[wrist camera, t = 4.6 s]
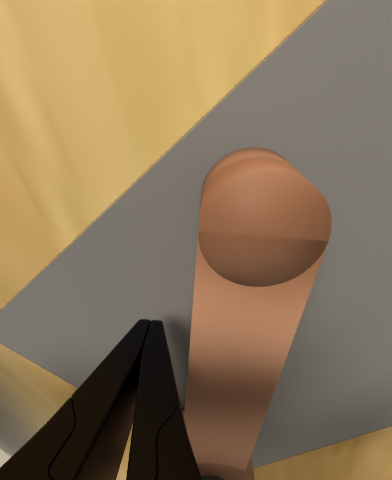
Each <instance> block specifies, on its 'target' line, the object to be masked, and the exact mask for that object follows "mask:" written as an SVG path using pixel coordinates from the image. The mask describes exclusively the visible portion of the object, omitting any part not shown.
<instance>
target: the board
mask: <svg viewBox="0 0 392 480" xmlns="http://www.w3.org/2000/svg"><path fill="white" fill-rule="evenodd" d="M249 147H259V148H265V149H268V150H272V151H274V152H276V153H278V154H279V155H281V156H282V157H284V158H285V159H286V160H287V161H288V162H289V163H290V164H291V165H292V166H293V167H294V168H296V169H297V170H298V171H299V172H300V173H301V174H302V175H303V176H304V177H305V178H306V179H307V180H309V181H310V182H311V183H312V184H313V185H314V186H315V187H316V188H317V189H318V190H319V191H320V192H321V194H322V195H323V196H324V198H325V199H326V201H327V203H328V206H329V209H330V212H331V218H332V228H331V235H330V238H329V241H328V244H327V247H326V250H325V252H324V255H323V258H322V261H321V264H320V266H319V269H318V272H317V275H316V277H315V280H314V283H313V286H312V288H311V291H310V294H309V297H308V299H307V302H306V305H305V308H304V310H303V313H302V316H301V319H300V322H299V324H298V327H297V330H296V333H295V335H294V338H293V341H292V344H291V346H290V349H289V352H288V355H287V357H286V360H285V363H284V366H283V368H282V371H281V374H280V377H279V380H278V382H277V385H276V388H275V391H274V393H273V396H272V399H271V402H270V404H269V407H268V410H267V413H266V415H265V418H264V421H263V424H262V426H261V429H260V432H259V435H258V438H257V440H256V443H255V446H254V449H253V451H252V454H251V455H252V464H253V468H256V467H259V466H262V465H266V464H269V463H272V462H276V461H279V460H282V459H285V458H289V457H292V456H295V455H298V454H302V453H305V452H308V451H311V450H315V449H318V448H321V447H324V446H328V445H331V444H334V443H338V442H341V441H344V440H347V439H351V438H354V437H357V436H360V435H364V434H367V433H370V432H373V431H377V430H380V429H383V428H387V427H390V426H392V0H326V1H325V2H323V3H322V4H321V5H320V6H319V7H318V8H317V9H316V10H315V11H314V12H313V13H312V14H311V15H310V16H309V17H308V18H307V19H306V20H305V21H304V22H302V23H301V24H300V25H299V26H298V27H297V28H296V29H295V30H294V31H293V32H292V33H291V34H290V35H289V36H288V37H287V38H286V39H285V40H284V41H283V42H281V43H280V44H279V45H278V46H277V47H276V48H275V49H274V50H273V51H272V52H271V53H270V54H269V55H268V56H267V57H266V58H265V59H264V60H263V61H262V62H260V63H259V64H258V65H257V66H256V67H255V68H254V69H253V70H252V71H251V72H250V73H249V74H248V75H247V76H246V77H245V78H244V79H243V80H242V81H241V82H239V83H238V84H237V85H236V86H235V87H234V88H233V89H232V90H231V91H230V92H229V93H228V94H227V95H226V96H225V97H224V98H223V99H222V100H221V101H220V102H218V103H217V104H216V105H215V106H214V107H213V108H212V109H211V110H210V111H209V112H208V113H207V114H206V115H205V116H204V117H203V118H202V119H201V120H200V121H199V122H197V123H196V124H195V125H194V126H193V127H192V128H191V129H190V130H189V131H188V132H187V133H186V134H185V135H184V136H183V137H182V138H181V139H180V140H179V141H178V142H176V143H175V144H174V145H173V146H172V147H171V148H170V149H169V150H168V151H167V152H166V153H165V154H164V155H163V156H162V157H161V158H160V159H159V160H158V161H157V162H155V163H154V164H153V165H152V166H151V167H150V168H149V169H148V170H147V171H146V172H145V173H144V174H143V175H142V176H141V177H140V178H139V179H138V180H137V181H136V182H134V183H133V184H132V185H131V186H130V187H129V188H128V189H127V190H126V191H125V192H124V193H123V194H122V195H121V196H120V197H119V198H118V199H117V200H116V201H115V202H113V203H112V204H111V205H110V206H109V207H108V208H107V209H106V210H105V211H104V212H103V213H102V214H101V215H100V216H99V217H98V218H97V219H96V220H95V221H94V222H92V223H91V224H90V225H89V226H88V227H87V228H86V229H85V230H84V231H83V232H82V233H81V234H80V235H79V236H78V237H77V238H76V239H75V240H74V241H73V242H71V243H70V244H69V245H68V246H67V247H66V248H65V249H64V250H63V251H62V252H61V253H60V254H59V255H58V256H57V257H56V258H55V259H54V260H53V261H52V262H50V263H49V264H48V265H47V266H46V267H45V268H44V269H43V270H42V271H41V272H40V273H39V274H38V275H37V276H36V277H35V278H34V279H33V280H32V281H31V282H29V283H28V284H27V285H26V286H25V287H24V288H23V289H22V290H21V291H20V292H19V293H18V294H17V295H16V296H15V297H14V298H13V299H12V300H11V301H10V302H8V303H7V304H6V305H5V306H4V307H3V308H2V309H1V310H0V344H2V345H4V346H5V347H7V348H9V349H11V350H12V351H14V352H16V353H18V354H19V355H21V356H23V357H25V358H26V359H28V360H30V361H32V362H33V363H35V364H37V365H39V366H40V367H42V368H44V369H46V370H47V371H49V372H51V373H53V374H54V375H56V376H58V377H60V378H61V379H63V380H65V381H67V382H68V383H70V384H72V385H73V386H75V387H77V388H79V387H80V386H81V384H82V383H83V382H84V381H85V380H86V379H87V378H88V377H89V375H90V374H91V373H92V372H93V371H94V370H95V369H96V368H97V366H98V365H99V364H100V363H101V362H102V361H103V360H104V359H105V357H106V356H107V355H108V354H109V353H110V352H111V351H112V350H113V348H114V347H115V346H116V345H117V344H118V343H119V342H120V341H121V339H122V338H123V337H124V336H125V335H126V334H127V333H128V332H129V330H130V329H131V328H132V327H133V326H134V325H135V324H136V323H137V321H138V320H139V319H150V320H151V321H152V320H162V321H163V325H164V330H165V334H166V339H167V344H168V348H169V353H170V358H171V362H172V367H173V371H174V376H175V381H176V385H177V390H178V395H179V399H180V404H181V408H182V411H184V410H185V399H186V386H187V372H188V359H189V346H190V333H191V320H192V307H193V294H194V281H195V267H196V254H197V241H198V228H199V215H200V202H201V191H202V186H203V182H204V180H205V178H206V176H207V174H208V172H209V171H210V169H211V168H212V167H213V166H214V164H215V163H217V162H218V161H219V160H220V159H221V158H223V157H224V156H225V155H227V154H229V153H231V152H233V151H236V150H239V149H243V148H249ZM133 420H134V419H133Z"/></svg>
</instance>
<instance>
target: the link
mask: <svg viewBox="0 0 392 480" xmlns="http://www.w3.org/2000/svg"><path fill="white" fill-rule="evenodd" d="M331 228H332V218H331V212H330V209H329V206H328V203H327V201H326V199H325V198H324V196H323V195H322V194H321V192H320V191H319V190H318V189H317V188H316V187H315V186H314V185H313V184H312V183H311V182H310V181H309V180H307V179H306V178H305V177H304V176H303V175H302V174H301V173H300V172H299V171H298V170H297V169H296V168H294V167H293V166H292V165H291V164H290V163H289V162H288V161H287V160H286V159H285V158H284V157H282V156H281V155H279V154H278V153H276V152H274V151H272V150H268V149H265V148H259V147H249V148H243V149H239V150H236V151H233V152H231V153H229V154H227V155H225V156H224V157H223V158H221V159H220V160H219V161H218V162H217V163H215V164H214V166H213V167H212V168H211V169H210V171H209V172H208V174H207V176H206V178H205V180H204V182H203V186H202V191H201V202H200V215H199V228H198V241H197V254H196V267H195V281H194V294H193V307H192V320H191V333H190V346H189V359H188V372H187V386H186V399H185V410H184V411H182V413H183V417H184V422H185V426H186V430H187V434H188V437H189V441H190V444H191V447H192V450H193V453H194V456H195V459H196V462H197V465H198V468H199V471H200V473H201V476H202V479H203V480H254V472H253V464H252V455H251V454H252V451H253V449H254V446H255V443H256V440H257V438H258V435H259V432H260V429H261V426H262V424H263V421H264V418H265V415H266V413H267V410H268V407H269V404H270V402H271V399H272V396H273V393H274V391H275V388H276V385H277V382H278V380H279V377H280V374H281V371H282V368H283V366H284V363H285V360H286V357H287V355H288V352H289V349H290V346H291V344H292V341H293V338H294V335H295V333H296V330H297V327H298V324H299V322H300V319H301V316H302V313H303V310H304V308H305V305H306V302H307V299H308V297H309V294H310V291H311V288H312V286H313V283H314V280H315V277H316V275H317V272H318V269H319V266H320V264H321V261H322V258H323V255H324V252H325V250H326V247H327V244H328V241H329V238H330V235H331Z"/></svg>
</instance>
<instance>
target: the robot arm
mask: <svg viewBox="0 0 392 480" xmlns="http://www.w3.org/2000/svg"><path fill="white" fill-rule="evenodd" d="M133 419H134V421H133ZM132 423H133V429H132V437H131V445H130V453H129V462H128V470H127V478H126V480H203V479H202V476H201V473H200V471H199V468H198V465H197V462H196V459H195V456H194V453H193V450H192V447H191V444H190V441H189V437H188V434H187V430H186V426H185V422H184V417H183V413H182V408H181V404H180V399H179V395H178V390H177V385H176V381H175V376H174V371H173V367H172V362H171V358H170V353H169V348H168V344H167V339H166V334H165V330H164V325H163V321H162V320H152V321H151V320H150V319H139V320H138V321H137V323H136V324H135V325H134V326H133V327H132V328H131V329H130V330H129V332H128V333H127V334H126V335H125V336H124V337H123V338H122V339H121V341H120V342H119V343H118V344H117V345H116V346H115V347H114V348H113V350H112V351H111V352H110V353H109V354H108V355H107V356H106V357H105V359H104V360H103V361H102V362H101V363H100V364H99V365H98V366H97V368H96V369H95V370H94V371H93V372H92V373H91V374H90V375H89V377H88V378H87V379H86V380H85V381H84V382H83V383H82V384H81V386H80V387H79V388H78V389H77V390H76V391H75V392H74V393H73V395H72V396H71V398H69V399H68V400H67V401H66V402H65V403H64V405H63V406H62V407H61V408H60V409H59V410H58V411H57V412H56V413H55V414H54V416H53V417H52V418H51V419H50V420H49V421H48V422H47V423H46V424H45V425H44V426H43V427H42V428H41V429H40V430H39V431H38V432H37V433H36V434H35V435H34V436H33V437H32V438H31V439H30V440H29V441H28V442H27V443H26V444H25V445H24V446H23V447H21V448H20V449H19V450H18V451H17V452H16V453H15V454H14V455H13V456H12V457H11V458H10V459H9V460H8V461H7V462H6V463H5V464H4V465H3V466H2V467H1V468H0V480H116V478H117V474H118V471H119V467H120V464H121V461H122V457H123V454H124V450H125V447H126V443H127V440H128V436H129V433H130V429H131V426H132Z"/></svg>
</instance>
